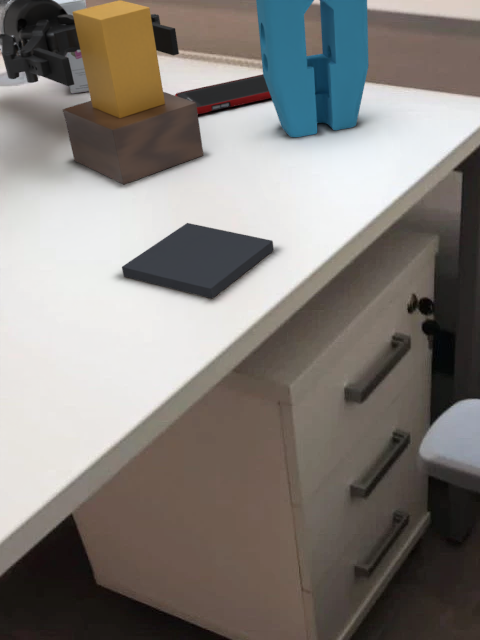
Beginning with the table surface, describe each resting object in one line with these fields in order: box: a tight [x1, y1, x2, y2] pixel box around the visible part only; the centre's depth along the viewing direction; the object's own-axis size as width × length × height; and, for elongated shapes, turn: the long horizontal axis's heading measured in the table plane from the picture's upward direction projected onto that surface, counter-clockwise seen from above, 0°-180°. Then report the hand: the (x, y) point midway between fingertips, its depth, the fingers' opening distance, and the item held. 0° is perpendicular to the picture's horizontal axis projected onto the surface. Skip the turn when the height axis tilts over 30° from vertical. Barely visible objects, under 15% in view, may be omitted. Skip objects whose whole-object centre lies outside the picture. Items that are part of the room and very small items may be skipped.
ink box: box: [53, 0, 89, 94], centre depth 125 cm, size 9×5×12 cm, turn 13°
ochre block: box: [72, 0, 165, 118], centre depth 97 cm, size 6×6×10 cm
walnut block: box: [62, 91, 204, 185], centre depth 102 cm, size 11×11×6 cm
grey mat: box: [121, 222, 275, 299], centre depth 81 cm, size 10×10×1 cm
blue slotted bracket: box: [255, 0, 370, 138], centre depth 102 cm, size 12×5×20 cm, turn 107°
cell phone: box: [174, 73, 272, 115], centre depth 118 cm, size 8×15×1 cm, turn 116°
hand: (123, 56), depth 96 cm, fingers open, 13 cm apart
